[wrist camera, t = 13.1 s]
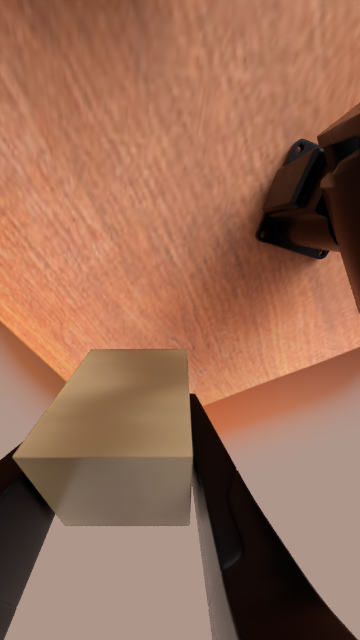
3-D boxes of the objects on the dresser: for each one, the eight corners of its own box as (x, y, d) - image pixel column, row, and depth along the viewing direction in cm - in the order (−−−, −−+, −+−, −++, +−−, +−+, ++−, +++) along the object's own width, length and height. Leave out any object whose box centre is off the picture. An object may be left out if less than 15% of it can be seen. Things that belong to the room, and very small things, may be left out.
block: (186, 348, 8) (193, 456, 4) (186, 412, 10) (189, 526, 6) (90, 348, 8) (10, 457, 4) (108, 412, 10) (64, 526, 6)
